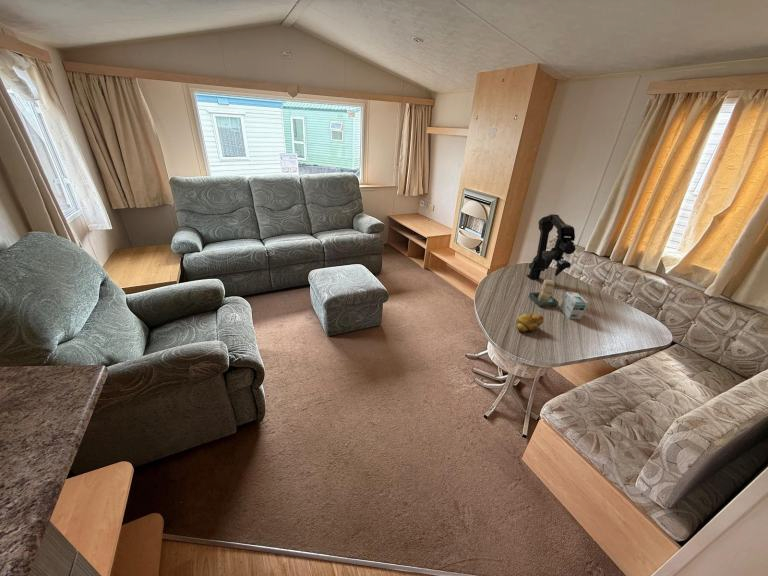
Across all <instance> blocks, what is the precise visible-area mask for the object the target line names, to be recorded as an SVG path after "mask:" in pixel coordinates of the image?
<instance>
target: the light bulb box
mask: <svg viewBox="0 0 768 576" xmlns="http://www.w3.org/2000/svg"><path fill="white" fill-rule="evenodd" d="M561 301H562V302H561V304H560V306H559V310H560V311H561V312H562V313H563V314H564V315H565V317H566V318H567V319H570V320H581V319H582V318H583V315H584V313H585V310H586V308H587V306H588V304H589V302H588V301H587V300H586V299H585V298H584V297H583V296H581V294H579V292H569V291H566V292H565V295H564V296H563V300H561Z"/></svg>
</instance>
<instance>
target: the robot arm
mask: <svg viewBox="0 0 768 576" xmlns="http://www.w3.org/2000/svg"><path fill="white" fill-rule="evenodd" d="M553 228H555V229H557V230H556V233H557V235H556V238H557V239H556V241H555V243H554V246H553V247H552V248H551V249H550V250H547V247H548V241H549V234H550V232H551V231H552V230H553ZM538 230H539V231H540V233H539V240H538V245H537V252H536V255H535V256H534V257H533V258H532V262H530V263H529V264H528V268H529V270H530V271H529V272H528V273H529V274H526V277H528V278H529V279H531V280H532V281H533V280H534V281H535V280H537V281H538V280H539V281H540V280H541V278H540V276H541V274H542V273H541V272H545V270H548V268H549V267H550V265H551V263H552V262H553V261H555V262H556V265H555V266H556V271H555V272H554V273H555V274H554V275H555V277H557V276H558V275H559V274H560V273H561V272H562V271H563V272H564V270H565V269H568V268H569V269H570V268H571V265H572V264H571V262H569V261H568V260H564V254H566V255H571V254H574V253H575V251H576V246H575V244H574V243H575V242H574V241H575V239H576V233H575V227H574V226H572V225H570V224H567V223H565V221H564V220H563V219H562V218H561V216H560V215H558V214H555V213H554V214H552V213H551V214H549V215H547V216H543V217H541V218H540V219H539V220H538Z"/></svg>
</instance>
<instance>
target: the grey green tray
mask: <svg viewBox="0 0 768 576" xmlns="http://www.w3.org/2000/svg"><path fill="white" fill-rule="evenodd" d="M539 294H540V291H539V292H529V295H528V298H529V297H530V298H531V299H532V300H533V301H534V302H535V303H534V302H533V301H532V300H531V299H530V298H529V299H530V300H531V301H532V302H533V303H534V304H535V305H537V306H538V308H547V307H548V308H550V307H551V308H552V307H553V308H555V307H558V305H559V301H558V300H557V299H556V298H554V297H553V296H552V295H551V296H550V299H549V301H548V302H541V301H540V300H539V299H538V297H539Z"/></svg>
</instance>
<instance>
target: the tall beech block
mask: <svg viewBox="0 0 768 576" xmlns="http://www.w3.org/2000/svg"><path fill="white" fill-rule="evenodd" d="M555 285H556V284H555V282H554V280H551V279H544V280H543V283H542V286H541V289H540V291H539V292H540V294H539V297H538V299H539V300H540V301H541V302H548V301H549V299H550V296H552V293H553V291H554V288H555Z"/></svg>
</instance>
